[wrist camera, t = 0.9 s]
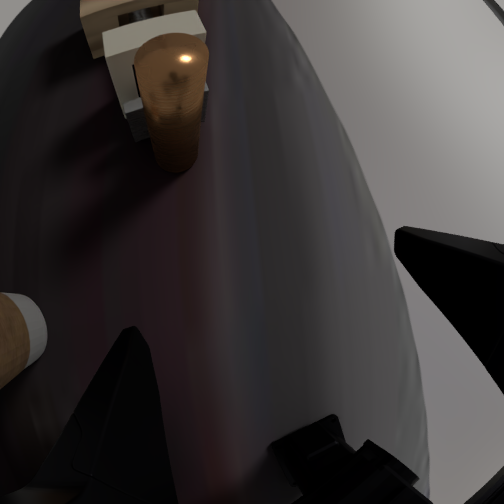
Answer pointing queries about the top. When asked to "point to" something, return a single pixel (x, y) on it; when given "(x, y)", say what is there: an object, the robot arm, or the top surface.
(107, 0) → the bearing block
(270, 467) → the top surface
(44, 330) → the coffee cup
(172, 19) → the spacer
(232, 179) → the top surface
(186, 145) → the shaft
